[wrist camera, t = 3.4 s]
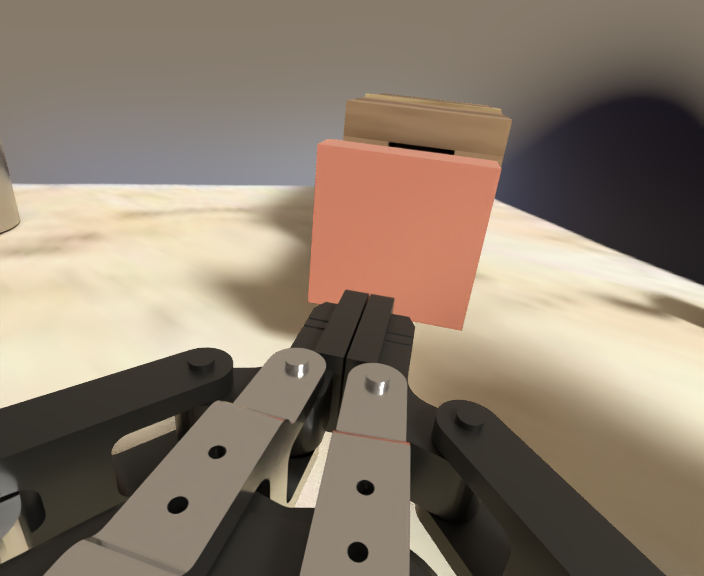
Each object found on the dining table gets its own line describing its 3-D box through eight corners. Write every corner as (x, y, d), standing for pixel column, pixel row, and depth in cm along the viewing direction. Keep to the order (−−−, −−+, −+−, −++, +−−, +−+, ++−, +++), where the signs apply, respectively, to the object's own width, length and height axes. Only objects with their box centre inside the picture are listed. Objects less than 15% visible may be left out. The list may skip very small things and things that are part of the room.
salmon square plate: (461, 330, 22) (501, 168, 18) (307, 301, 23) (317, 144, 20) (456, 218, 40) (476, 125, 36) (369, 205, 41) (380, 113, 37)
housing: (472, 285, 37) (513, 116, 31) (332, 261, 38) (346, 96, 33) (465, 218, 55) (490, 103, 49) (369, 204, 56) (382, 91, 50)
